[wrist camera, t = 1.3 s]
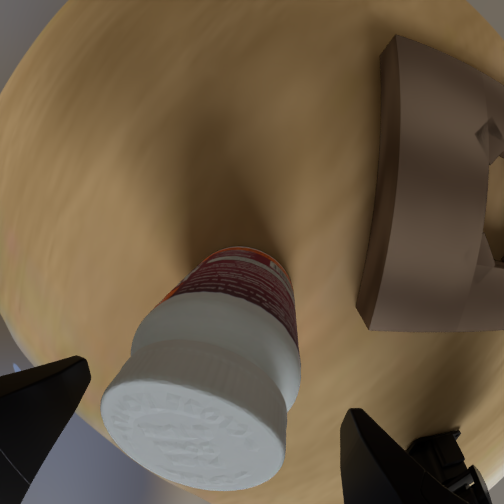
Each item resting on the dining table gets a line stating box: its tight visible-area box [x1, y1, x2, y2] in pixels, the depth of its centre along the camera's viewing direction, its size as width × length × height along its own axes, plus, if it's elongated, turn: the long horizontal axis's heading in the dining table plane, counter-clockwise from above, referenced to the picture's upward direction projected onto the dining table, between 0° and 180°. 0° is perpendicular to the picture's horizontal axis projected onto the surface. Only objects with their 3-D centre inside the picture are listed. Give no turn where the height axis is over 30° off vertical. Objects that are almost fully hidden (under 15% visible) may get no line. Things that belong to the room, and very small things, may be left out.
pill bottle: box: [101, 246, 301, 491], centre depth 11 cm, size 6×6×11 cm
